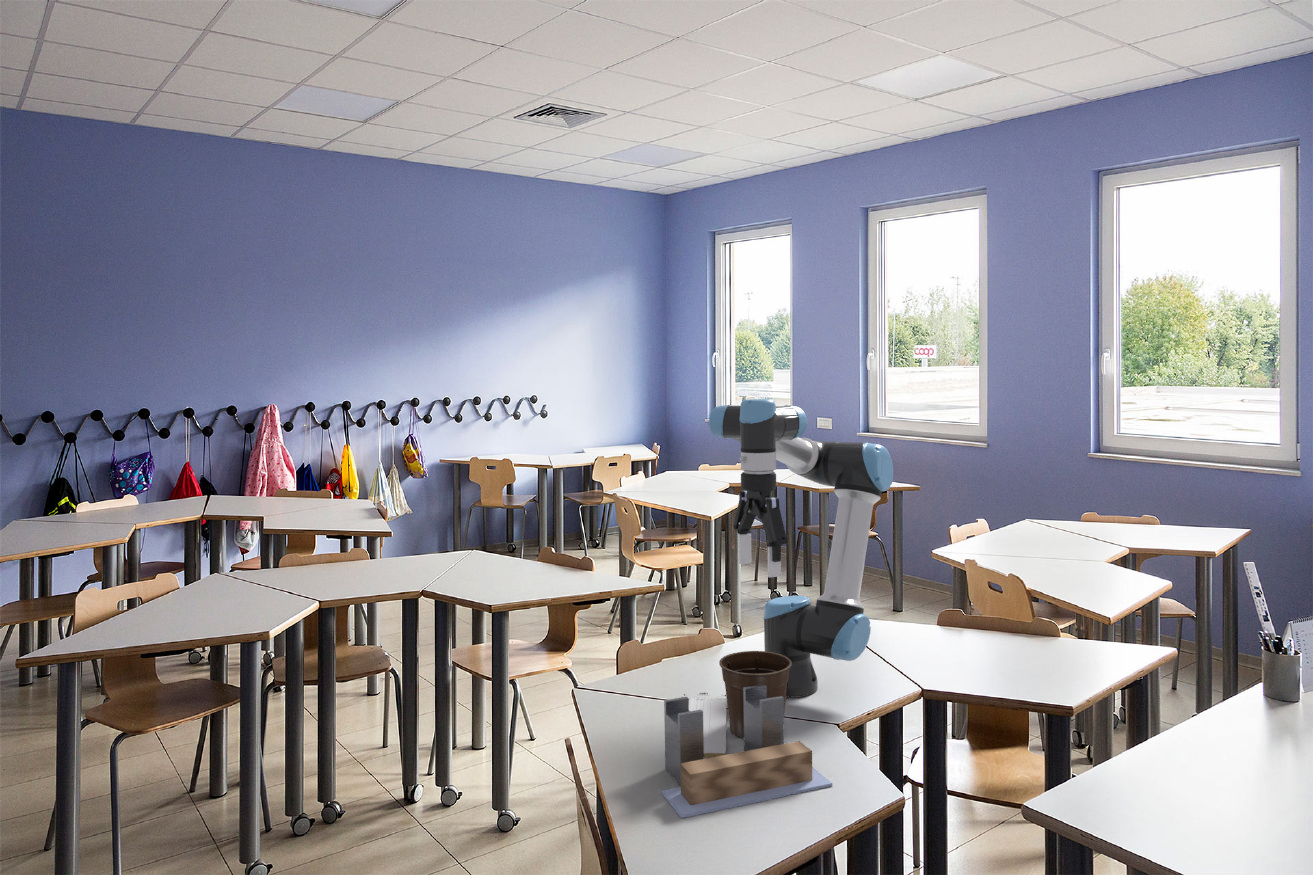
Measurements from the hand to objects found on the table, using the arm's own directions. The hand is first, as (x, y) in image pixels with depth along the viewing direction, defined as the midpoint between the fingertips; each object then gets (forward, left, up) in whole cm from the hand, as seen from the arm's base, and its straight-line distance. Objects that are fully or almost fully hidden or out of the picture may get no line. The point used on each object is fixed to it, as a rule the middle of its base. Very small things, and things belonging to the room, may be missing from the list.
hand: (759, 569), depth 189 cm
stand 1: (+21, +7, -39) cm, 45 cm away
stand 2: (+3, +7, -39) cm, 39 cm away
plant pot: (-2, -7, -39) cm, 40 cm away
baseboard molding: (+9, -14, -40) cm, 43 cm away
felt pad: (+12, +18, -39) cm, 44 cm away
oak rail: (+12, +17, -38) cm, 44 cm away
